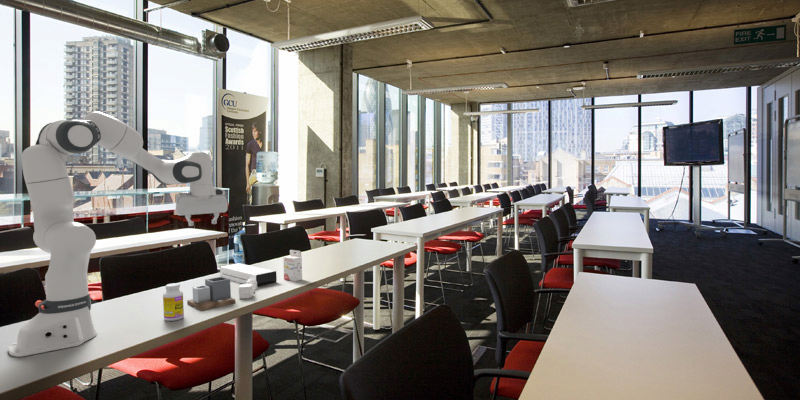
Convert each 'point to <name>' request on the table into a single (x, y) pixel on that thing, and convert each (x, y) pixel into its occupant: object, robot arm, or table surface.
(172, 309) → the supplement bottle
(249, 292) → the white dumbbell
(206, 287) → the light grey square container
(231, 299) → the brown wooden tray
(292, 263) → the ink cartridge box
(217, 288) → the dark grey square container
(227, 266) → the laminator
